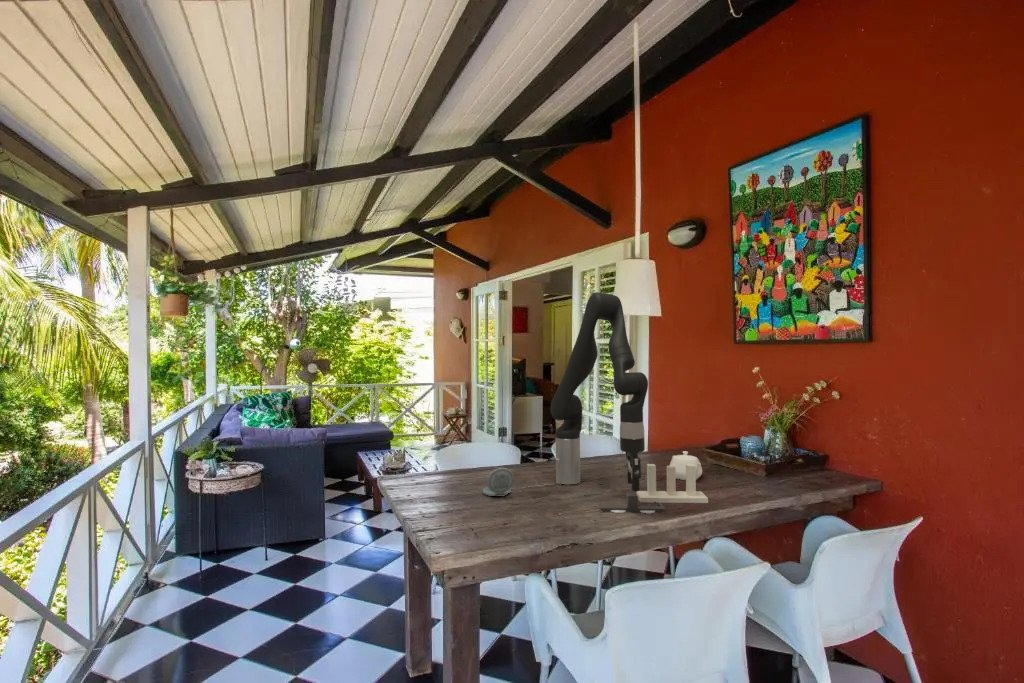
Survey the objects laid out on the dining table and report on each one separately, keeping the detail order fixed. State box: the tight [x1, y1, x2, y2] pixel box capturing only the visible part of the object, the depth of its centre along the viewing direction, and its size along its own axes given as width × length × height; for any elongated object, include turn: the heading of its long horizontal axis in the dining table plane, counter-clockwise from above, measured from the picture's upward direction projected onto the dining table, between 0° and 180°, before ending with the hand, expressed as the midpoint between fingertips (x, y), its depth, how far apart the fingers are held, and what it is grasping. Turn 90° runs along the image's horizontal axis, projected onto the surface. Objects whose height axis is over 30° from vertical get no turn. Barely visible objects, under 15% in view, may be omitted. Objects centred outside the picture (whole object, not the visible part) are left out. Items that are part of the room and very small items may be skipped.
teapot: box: [669, 450, 703, 481], centre depth 205 cm, size 20×12×10 cm, turn 12°
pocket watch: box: [482, 467, 515, 496], centre depth 188 cm, size 10×11×15 cm
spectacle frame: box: [598, 492, 666, 515], centre depth 168 cm, size 20×9×5 cm, turn 86°
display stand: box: [635, 463, 709, 504], centre depth 178 cm, size 22×8×12 cm, turn 86°
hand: (633, 487), depth 166 cm, fingers open, 8 cm apart
